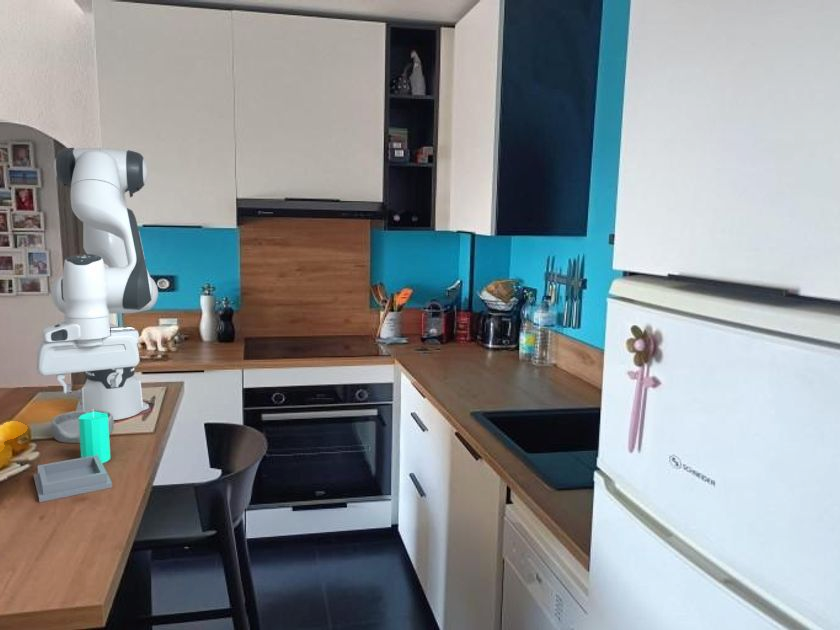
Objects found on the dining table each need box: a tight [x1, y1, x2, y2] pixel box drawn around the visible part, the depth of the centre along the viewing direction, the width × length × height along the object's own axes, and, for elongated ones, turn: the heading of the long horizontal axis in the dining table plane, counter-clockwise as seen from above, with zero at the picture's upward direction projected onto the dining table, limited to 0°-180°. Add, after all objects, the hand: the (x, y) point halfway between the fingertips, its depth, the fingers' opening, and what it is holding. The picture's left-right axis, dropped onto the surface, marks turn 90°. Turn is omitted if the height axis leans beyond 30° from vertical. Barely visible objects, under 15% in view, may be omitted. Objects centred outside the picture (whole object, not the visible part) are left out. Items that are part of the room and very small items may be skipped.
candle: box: [79, 412, 111, 464], centre depth 147 cm, size 6×6×12 cm
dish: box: [51, 409, 115, 444], centre depth 163 cm, size 14×14×5 cm
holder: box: [33, 455, 113, 503], centre depth 135 cm, size 13×13×3 cm
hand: (91, 390), depth 145 cm, fingers open, 8 cm apart
